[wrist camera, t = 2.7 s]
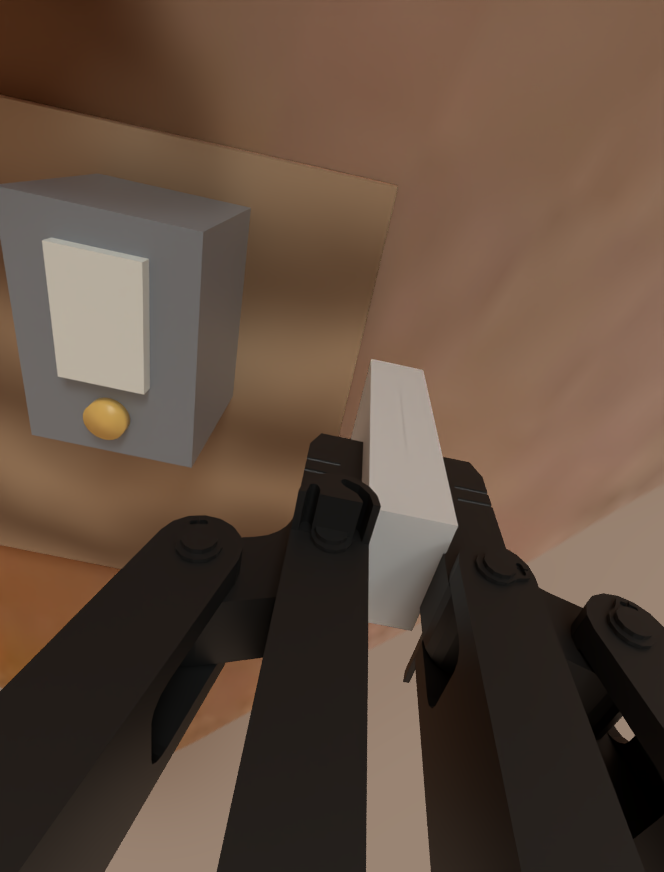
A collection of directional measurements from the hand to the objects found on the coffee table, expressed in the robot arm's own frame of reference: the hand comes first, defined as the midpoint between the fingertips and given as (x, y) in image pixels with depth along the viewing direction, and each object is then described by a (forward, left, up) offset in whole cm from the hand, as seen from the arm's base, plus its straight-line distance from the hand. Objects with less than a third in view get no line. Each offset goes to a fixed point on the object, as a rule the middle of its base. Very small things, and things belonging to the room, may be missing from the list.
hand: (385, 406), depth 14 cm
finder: (0, -8, -4) cm, 9 cm away
